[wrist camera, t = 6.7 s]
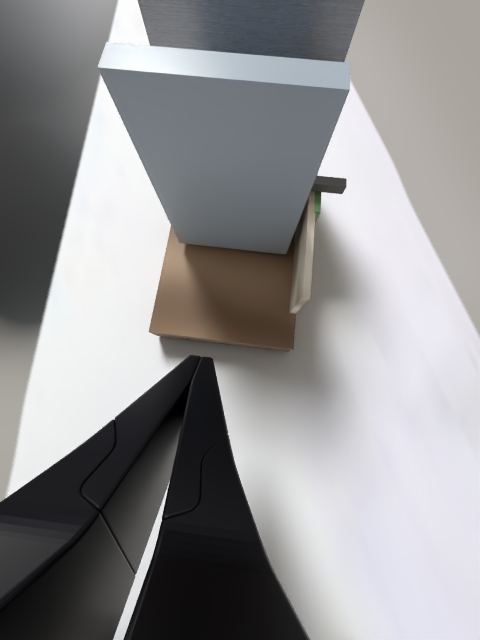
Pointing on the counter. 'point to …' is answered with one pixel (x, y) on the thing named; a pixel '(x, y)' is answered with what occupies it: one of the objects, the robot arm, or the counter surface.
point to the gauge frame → (236, 290)
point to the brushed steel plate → (255, 26)
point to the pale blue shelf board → (228, 137)
